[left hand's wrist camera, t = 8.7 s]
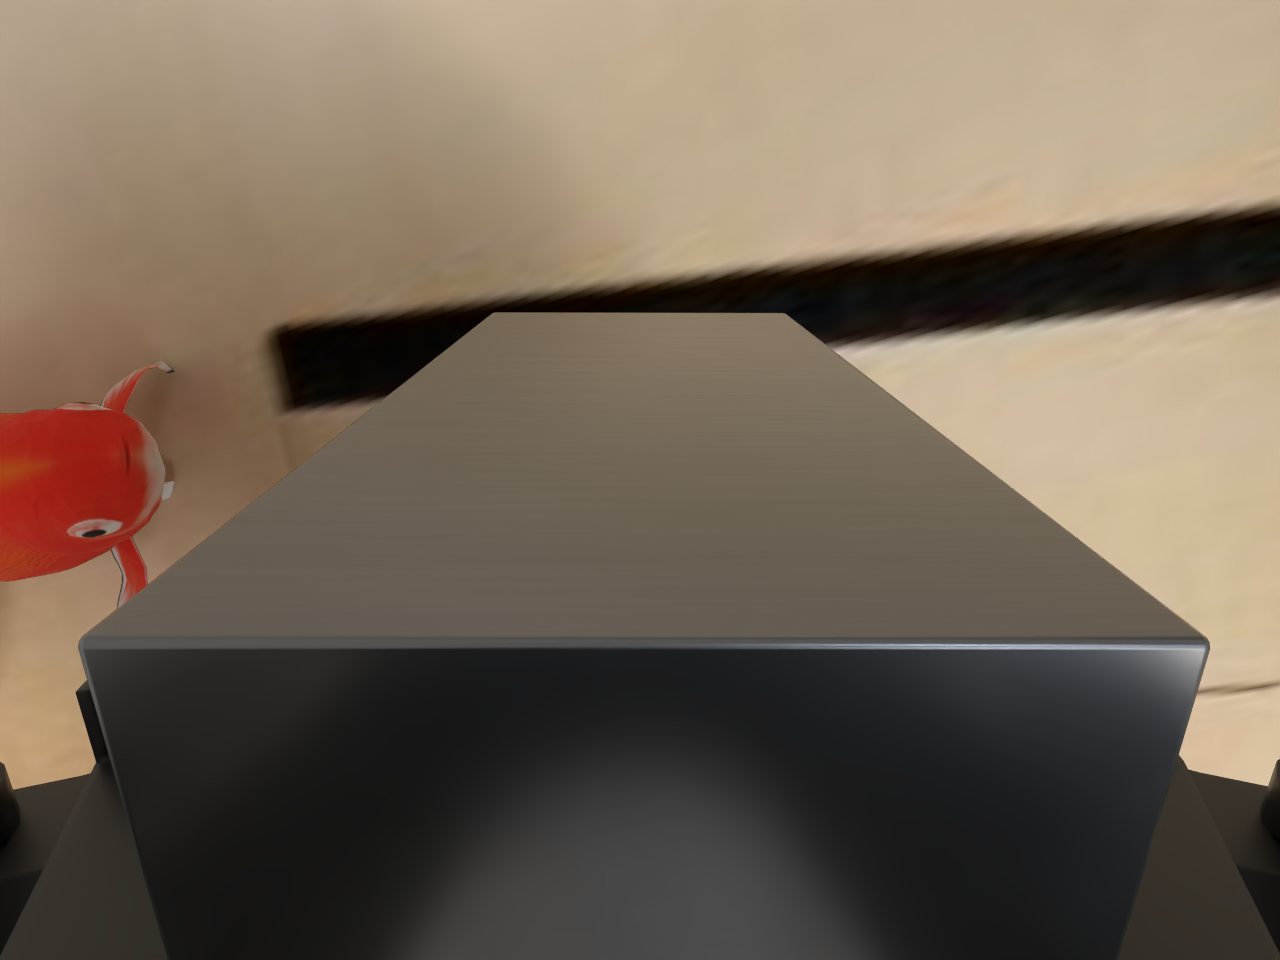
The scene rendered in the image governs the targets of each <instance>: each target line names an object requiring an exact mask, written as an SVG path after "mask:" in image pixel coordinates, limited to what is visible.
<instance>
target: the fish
mask: <svg viewBox="0 0 1280 960" xmlns="http://www.w3.org/2000/svg"><path fill="white" fill-rule="evenodd" d="M151 368H159V369H161V370H163V371H165V372H167V373H171V372H174V371H173V369H172V368H171V367H169V366H168V365H167V364H166V363H165V362H164V361H159V362H156V363H154V364H151V365H148V366H146V367H143V368H141V369H138V370H136V371H134V372H132V373H130V374H129V375H128V376H126V377H125V378H124V379H123V380H121V381H120V382H119V383H117V384H116V385H115V386H114V387H113V388H112V389H110V390H109V392H108V393H107V394H106V396H105V397H104V399H103V401H102V403H101V406H99V405H96V404H92V403H84V402H79V403H69V404H65V405H62V406H60V407H58V408H56V409H54V410H32V411H29V412H26V413H0V581H15V580H20V579H26V578H31V577H36V576H42V575H47V574H52V573H56V572H60V571H64V570H68V569H71V568H73V567H76V566H78V565H80V564H82V563H85V562H87V561H89V560H91V559H93V558H95V557H97V556H99V555H101V554H103V553H105V552H107V551H108V550H110V549H111V551H112V554H113V556H114V558H115V560H116V562H117V563H118V565H119V567H120V570H121V572H122V585H121V590H120V594H119V599H118V604H117V609H118V608H119V607H120V606H122V605H123V604H124V603H125V602H127V601H128V600H129V599H131V598H132V597H133V596H134V595H136V594H137V593H138V592H139V591H141V590H142V589H143V588H144V587H146V586H147V585H148V583H147V569H146V566H145V564H144V561H143V559H142V557H141V555H140V553H139V550H138V548H137V546H136V544H135V542H134V540H133V538H132V536H133V535H134V534H135V533H136V532H138V531H139V530H140V529H141V528H142V527H143V526H145V525H146V524H147V523H148V522H149V521H150V519H151V517H152V516H153V514H154V512H155V511H156V509H157V508H158V506H159V504H160V502H161V500H166V499H169V498H170V496H171V494H172V491H173V486H174V482H173V481H168V482H164V480H165V473H166V472H165V466H164V463H163V460H162V457H161V454H160V451H159V448H158V445H157V442H156V441H155V439H154V438H153V437H152V436H151V434H150V433H149V432H148V430H147V429H146V428H145V427H144V425H143V424H142V423H141V422H139V421H138V420H136V419H134V418H132V417H130V416H129V415H127V414H125V410H126V407H127V404H128V401H129V400H130V398H131V396H132V394H133V392H134V390H135V388H136V386H137V384H138V381H139V379H140V377H141V376H142V375H143V374H144V373H145V372H146V370H147V369H151Z"/></svg>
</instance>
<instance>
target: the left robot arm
mask: <svg viewBox="0 0 1280 960" xmlns="http://www.w3.org/2000/svg"><path fill="white" fill-rule="evenodd" d="M76 695H77V699H78V702H79V706H80V709H81V712H82V716H83V719H84V722H85V726H86V729H87V732H88V736H89V739H90V743H91V746H92V749H93V753H94V756H95V759H96V764H95V766H94V768H93V770H92V772H91V773H90V774H86V775H83V776H78V777H74V778H69V779H64V780H59V781H54V782H49V783H44V784H40V785H35V786H30V787H25V788H20V789H15V790H13V788H12V785H11V783H10V780H9V777H8V774H7V771H6V768H5V765H4V764H3V763H1V762H0V960H167V956H166V953H165V949H164V946H163V942H162V939H161V935H160V932H159V928H158V925H157V921H156V918H155V914H154V911H153V907H152V904H151V900H150V897H149V893H148V890H147V886H146V883H145V879H144V876H143V872H142V869H141V865H140V862H139V858H138V855H137V851H136V848H135V844H134V841H133V837H132V834H131V830H130V827H129V823H128V820H127V816H126V813H125V810H124V806H123V803H122V799H121V796H120V792H119V789H118V785H117V782H116V778H115V775H114V771H113V768H112V764H111V761H110V757H109V754H108V750H107V747H106V743H105V740H104V736H103V733H102V729H101V726H100V722H99V719H98V715H97V712H96V708H95V705H94V701H93V698H92V694H91V691H90V687H89V684H88V680H87V681H86V682H85V683H84V684H83V685H82V686H81V687H80V688H79V689H78V690H77V691H76ZM1118 960H1280V759H1279V760H1278V761H1277V762H1276V765H1275V768H1274V771H1273V774H1272V777H1271V780H1270V783H1269V785H1268V786H1263V785H1258V784H1253V783H1248V782H1243V781H1238V780H1233V779H1229V778H1224V777H1219V776H1214V775H1209V774H1204V773H1199V772H1196V771H1192V770H1188V769H1187V767H1186V765H1185V763H1184V761H1183V760H1182V758H1181V757H1180V756H1179V755H1178V758H1177V761H1176V765H1175V768H1174V772H1173V775H1172V778H1171V782H1170V785H1169V788H1168V792H1167V795H1166V798H1165V802H1164V805H1163V808H1162V812H1161V815H1160V819H1159V822H1158V825H1157V829H1156V832H1155V835H1154V839H1153V842H1152V845H1151V849H1150V852H1149V856H1148V859H1147V862H1146V866H1145V869H1144V872H1143V876H1142V879H1141V882H1140V886H1139V889H1138V893H1137V896H1136V899H1135V903H1134V906H1133V909H1132V913H1131V916H1130V919H1129V923H1128V926H1127V930H1126V933H1125V936H1124V940H1123V943H1122V946H1121V950H1120V953H1119V956H1118Z"/></svg>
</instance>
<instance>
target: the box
mask: <svg viewBox="0 0 1280 960" xmlns="http://www.w3.org/2000/svg"><path fill="white" fill-rule="evenodd" d="M78 649H79V652H80V656H81V659H82V663H83V666H84V670H85V673H86V677H87V680H88V684H89V687H90V691H91V694H92V698H93V701H94V705H95V708H96V712H97V715H98V719H99V722H100V726H101V729H102V733H103V736H104V740H105V743H106V747H107V750H108V754H109V757H110V761H111V764H112V768H113V771H114V775H115V778H116V782H117V785H118V789H119V792H120V796H121V799H122V803H123V806H124V810H125V813H126V816H127V820H128V823H129V827H130V830H131V834H132V837H133V841H134V844H135V848H136V851H137V855H138V858H139V862H140V865H141V869H142V872H143V876H144V879H145V883H146V886H147V890H148V893H149V897H150V900H151V904H152V907H153V911H154V914H155V918H156V921H157V925H158V928H159V932H160V935H161V939H162V942H163V946H164V949H165V953H166V956H167V960H1118V956H1119V953H1120V950H1121V946H1122V943H1123V940H1124V936H1125V933H1126V930H1127V926H1128V923H1129V919H1130V916H1131V913H1132V909H1133V906H1134V903H1135V899H1136V896H1137V893H1138V889H1139V886H1140V882H1141V879H1142V876H1143V872H1144V869H1145V866H1146V862H1147V859H1148V856H1149V852H1150V849H1151V845H1152V842H1153V839H1154V835H1155V832H1156V829H1157V825H1158V822H1159V819H1160V815H1161V812H1162V808H1163V805H1164V802H1165V798H1166V795H1167V792H1168V788H1169V785H1170V782H1171V778H1172V775H1173V772H1174V768H1175V765H1176V761H1177V758H1178V755H1179V751H1180V748H1181V745H1182V741H1183V738H1184V735H1185V731H1186V728H1187V724H1188V721H1189V718H1190V714H1191V711H1192V708H1193V704H1194V701H1195V698H1196V694H1197V691H1198V687H1199V684H1200V681H1201V677H1202V674H1203V671H1204V667H1205V664H1206V661H1207V657H1208V654H1209V650H1210V644H1209V641H1208V639H1207V637H1205V636H1204V635H1203V634H1201V633H1200V632H1199V631H1197V630H1196V629H1195V628H1194V627H1192V626H1191V625H1190V624H1188V623H1187V622H1186V621H1184V620H1183V619H1182V618H1181V617H1179V616H1178V615H1177V614H1175V613H1174V612H1173V611H1171V610H1170V609H1169V608H1167V607H1166V606H1165V605H1164V604H1162V603H1161V602H1160V601H1158V600H1157V599H1156V598H1154V597H1153V596H1152V595H1151V594H1149V593H1148V592H1147V591H1145V590H1144V589H1143V588H1141V587H1140V586H1139V585H1138V584H1136V583H1135V582H1134V581H1132V580H1131V579H1130V578H1128V577H1127V576H1126V575H1125V574H1123V573H1122V572H1121V571H1119V570H1118V569H1117V568H1115V567H1114V566H1113V565H1112V564H1110V563H1109V562H1108V561H1106V560H1105V559H1104V558H1102V557H1101V556H1100V555H1099V554H1097V553H1096V552H1095V551H1093V550H1092V549H1091V548H1089V547H1088V546H1087V545H1086V544H1084V543H1083V542H1082V541H1080V540H1079V539H1078V538H1076V537H1075V536H1074V535H1073V534H1071V533H1070V532H1069V531H1067V530H1066V529H1065V528H1063V527H1062V526H1061V525H1059V524H1058V523H1057V522H1056V521H1054V520H1053V519H1052V518H1050V517H1049V516H1048V515H1046V514H1045V513H1044V512H1043V511H1041V510H1040V509H1039V508H1037V507H1036V506H1035V505H1033V504H1032V503H1031V502H1030V501H1028V500H1027V499H1026V498H1024V497H1023V496H1022V495H1020V494H1019V493H1018V492H1017V491H1015V490H1014V489H1013V488H1011V487H1010V486H1009V485H1007V484H1006V483H1005V482H1004V481H1002V480H1001V479H1000V478H998V477H997V476H996V475H994V474H993V473H992V472H991V471H989V470H988V469H987V468H985V467H984V466H983V465H981V464H980V463H979V462H978V461H976V460H975V459H974V458H972V457H971V456H970V455H968V454H967V453H966V452H965V451H963V450H962V449H961V448H959V447H958V446H957V445H955V444H954V443H953V442H951V441H950V440H949V439H948V438H946V437H945V436H944V435H942V434H941V433H940V432H938V431H937V430H936V429H935V428H933V427H932V426H931V425H929V424H928V423H927V422H925V421H924V420H923V419H922V418H920V417H919V416H918V415H916V414H915V413H914V412H912V411H911V410H910V409H909V408H907V407H906V406H905V405H903V404H902V403H901V402H899V401H898V400H897V399H896V398H894V397H893V396H892V395H890V394H889V393H888V392H886V391H885V390H884V389H883V388H881V387H880V386H879V385H877V384H876V383H875V382H873V381H872V380H871V379H870V378H868V377H867V376H866V375H864V374H863V373H862V372H860V371H859V370H858V369H857V368H855V367H854V366H853V365H851V364H850V363H849V362H847V361H846V360H845V359H843V358H842V357H841V356H840V355H838V354H837V353H836V352H834V351H833V350H832V349H830V348H829V347H828V346H827V345H825V344H824V343H823V342H821V341H820V340H819V339H817V338H816V337H815V336H814V335H812V334H811V333H810V332H808V331H807V330H806V329H804V328H803V327H802V326H801V325H799V324H798V323H797V322H795V321H794V320H793V319H791V318H790V317H789V316H788V315H786V314H784V313H492V314H491V315H490V316H489V317H487V318H486V319H485V320H484V321H482V322H481V323H480V324H479V325H477V326H476V327H475V328H473V329H472V330H471V331H470V332H468V333H467V334H466V335H465V336H463V337H462V338H461V339H459V340H458V341H457V342H456V343H454V344H453V345H452V346H451V347H449V348H448V349H447V350H445V351H444V352H443V353H442V354H440V355H439V356H438V357H437V358H435V359H434V360H433V361H432V362H430V363H429V364H428V365H426V366H425V367H424V368H423V369H421V370H420V371H419V372H418V373H416V374H415V375H414V376H412V377H411V378H410V379H409V380H407V381H406V382H405V383H404V384H402V385H401V386H400V387H399V388H397V389H396V390H395V391H393V392H392V393H391V394H390V395H388V396H387V397H386V398H385V399H383V400H382V401H381V402H379V403H378V404H377V405H376V406H374V407H373V408H372V409H371V410H369V411H368V412H367V413H365V414H364V415H363V416H362V417H360V418H359V419H358V420H357V421H355V422H354V423H353V424H352V425H350V426H349V427H348V428H346V429H345V430H344V431H343V432H341V433H340V434H339V435H338V436H336V437H335V438H334V439H332V440H331V441H330V442H329V443H327V444H326V445H325V446H324V447H322V448H321V449H320V450H318V451H317V452H316V453H315V454H313V455H312V456H311V457H310V458H308V459H307V460H306V461H305V462H303V463H302V464H301V465H299V466H298V467H297V468H296V469H294V470H293V471H292V472H291V473H289V474H288V475H287V476H285V477H284V478H283V479H282V480H280V481H279V482H278V483H277V484H275V485H274V486H273V487H271V488H270V489H269V490H268V491H266V492H265V493H264V494H263V495H261V496H260V497H259V498H258V499H256V500H255V501H254V502H252V503H251V504H250V505H249V506H247V507H246V508H245V509H244V510H242V511H241V512H240V513H238V514H237V515H236V516H235V517H233V518H232V519H231V520H230V521H228V522H227V523H226V524H224V525H223V526H222V527H221V528H219V529H218V530H217V531H216V532H214V533H213V534H212V535H211V536H209V537H208V538H207V539H205V540H204V541H203V542H202V543H200V544H199V545H198V546H197V547H195V548H194V549H193V550H191V551H190V552H189V553H188V554H186V555H185V556H184V557H183V558H181V559H180V560H179V561H178V562H176V563H175V564H174V565H172V566H171V567H170V568H169V569H167V570H166V571H165V572H164V573H162V574H161V575H160V576H158V577H157V578H156V579H155V580H153V581H152V582H151V583H150V584H148V585H147V586H146V587H144V588H143V589H142V590H141V591H139V592H138V593H137V594H136V595H134V596H133V597H132V598H131V599H129V600H128V601H127V602H125V603H124V604H123V605H122V606H120V607H119V608H118V609H117V610H115V611H114V612H113V613H111V614H110V615H109V616H108V617H106V618H105V619H104V620H103V621H101V622H100V623H99V624H97V625H96V626H95V627H94V628H92V629H91V630H90V631H89V632H87V633H86V634H85V635H84V636H82V637H81V639H80V641H79V646H78Z"/></svg>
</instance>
